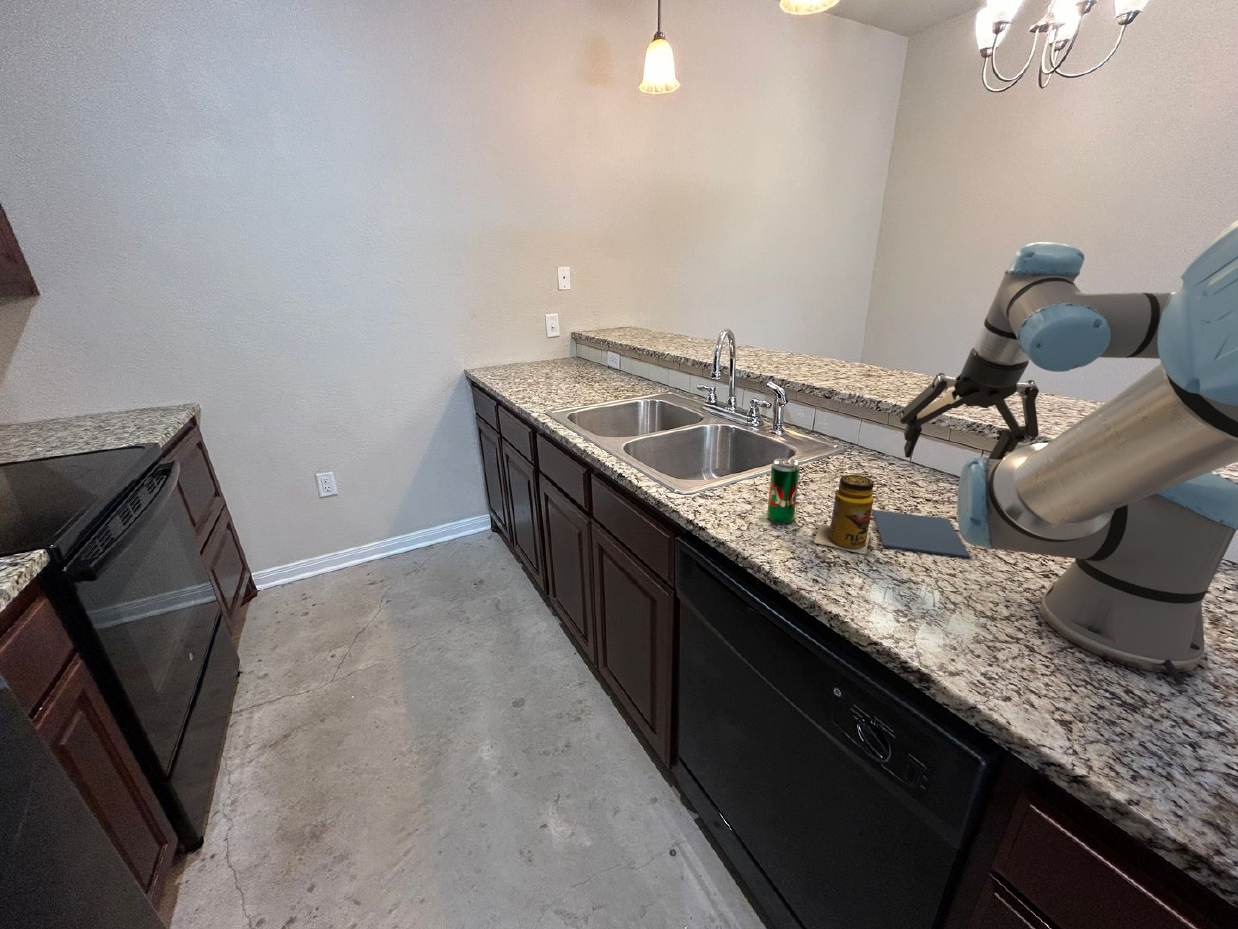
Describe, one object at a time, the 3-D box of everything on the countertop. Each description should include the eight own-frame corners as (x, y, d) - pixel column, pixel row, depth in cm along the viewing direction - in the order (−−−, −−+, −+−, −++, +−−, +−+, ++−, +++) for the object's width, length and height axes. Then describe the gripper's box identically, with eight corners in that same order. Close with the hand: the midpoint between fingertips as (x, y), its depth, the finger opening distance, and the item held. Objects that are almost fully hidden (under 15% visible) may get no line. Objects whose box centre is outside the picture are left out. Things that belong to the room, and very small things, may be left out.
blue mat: (969, 558, 83) (970, 556, 83) (882, 546, 87) (883, 544, 87) (947, 520, 95) (948, 518, 95) (872, 512, 99) (873, 510, 99)
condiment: (865, 555, 85) (877, 490, 80) (813, 543, 89) (821, 481, 84) (869, 536, 90) (880, 475, 86) (820, 526, 94) (828, 467, 90)
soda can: (790, 513, 100) (797, 457, 95) (796, 525, 95) (803, 466, 91) (764, 512, 100) (769, 456, 96) (769, 524, 95) (775, 466, 91)
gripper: (1091, 347, 74) (1024, 453, 89) (906, 335, 81) (872, 436, 95) (1110, 374, 69) (1036, 482, 83) (911, 359, 76) (874, 461, 90)
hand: (948, 458), depth 89 cm, fingers open, 13 cm apart
